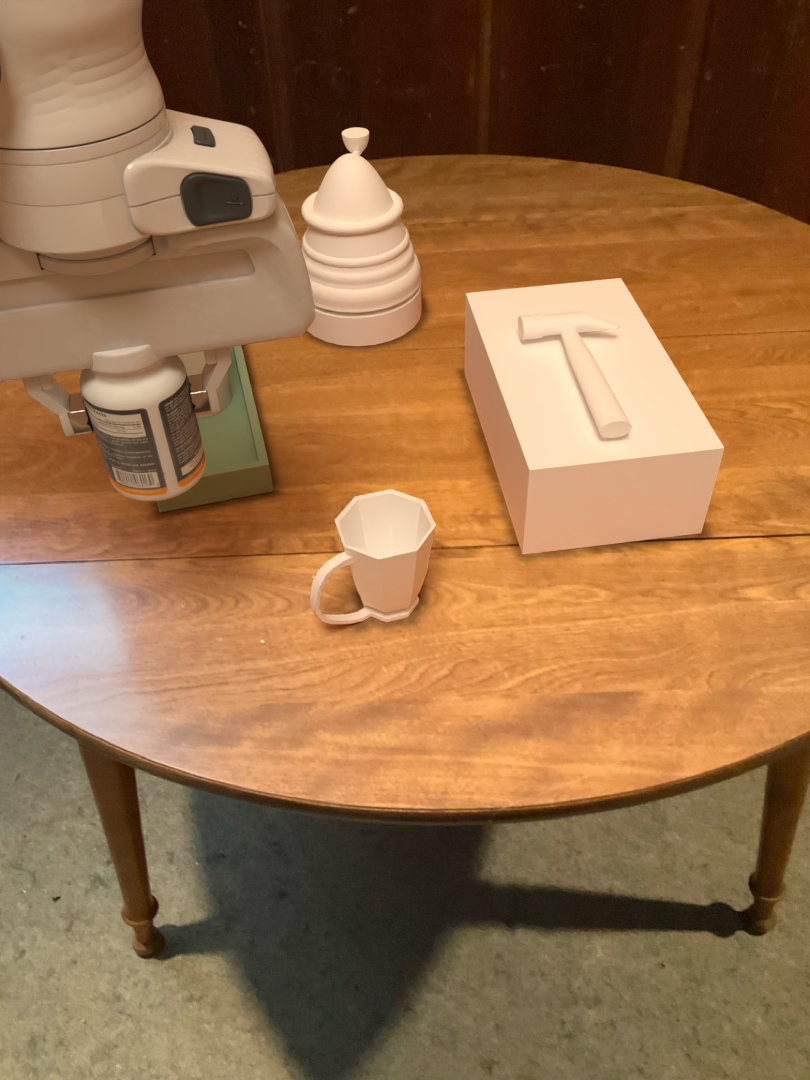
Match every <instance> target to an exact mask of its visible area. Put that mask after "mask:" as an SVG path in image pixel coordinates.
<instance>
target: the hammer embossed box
mask: <svg viewBox="0 0 810 1080" xmlns="http://www.w3.org/2000/svg"><path fill="white" fill-rule="evenodd" d="M464 309H465V312H464V313H465V314H464V318H465V319H464V359H463V361H464V363H463V364H464V365H463V366H464V367H463V373H464V377H465V380H466V383H467V386H468V389H469V393H470V396H471V399H472V401H473V404H474V408H475V410H476V411H475V412H476V414H477V417H478V420H479V424H480V427H481V429H482V430H481V431H482V433H483V437H484V439H485V442H486V446H487V449H488V452H489V454H490V459H491V462H492V464H493V468H494V471H495V474H496V478H497V479H498V483H499V486H500V489H501V493H502V496H503V498H504V502H505V505H506V508H507V511H508V514H509V518H510V521H511V524H512V527H513V530H514V533H515V536H516V540H517V543H518V546H519V550H520V553H521V555H532V554H539V553H541V554H542V553H547V552H555V551H565V550H573V549H583V548H589V547H599V546H606V545H614V544H615V545H616V544H622V543H623V544H624V543H631V542H640V541H648V540H649V541H650V540H657V539H665V538H673V537H681V536H688V535H690V536H691V535H699V534H702V533H703V528H704V526H705V525H704V524H705V522H706V517H707V514H708V510H709V506H710V503H711V499H712V495H713V492H714V489H715V485H716V481H717V478H718V474H719V471H720V466H721V463H722V459H723V456H724V452H725V447H724V445H723V443H722V441H721V440H720V438H719V436H718V435H717V433H716V432H715V429H713V427H712V425H711V424H710V422H709V420H708V418H707V417H706V415H705V413H704V412H703V410H702V408H701V407H700V405H699V403H698V402H697V400H696V399H695V397H694V396H693V394H692V392H691V390H690V389H689V387H688V386H687V384H686V382H685V380H684V379H683V378H682V376H681V374H680V372H679V371H678V369H677V367H676V366H675V364H674V363H673V361H672V359H671V358H670V355H668V353H667V351H666V349H665V348H664V346H663V344H662V343H661V341H660V340H659V338H658V336H657V334H656V333H655V332H654V330H653V328H652V326H651V325H650V323H649V322H648V320H647V318H646V317H645V315H644V314H643V311H642V310H641V309H640V307H639V305H638V304H637V301H635V298H634V297H633V295H632V293H631V292H630V291H629V289H628V287H627V285H626V284H625V282H624V281H623V278H622V277H616V278H607V279H606V278H605V279H595V280H587V281H575V282H565V283H555V284H545V285H535V286H524V287H514V288H503V289H493V290H483V291H474V292H473V291H472V292H465V307H464Z"/></svg>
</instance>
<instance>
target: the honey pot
mask: <svg viewBox="0 0 810 1080" xmlns="http://www.w3.org/2000/svg"><path fill="white" fill-rule="evenodd" d="M341 139H342V141H343V144H344V146H345V148H346V150H347V151H348V152H349V153H345V154H343V155H341V156H339V157H338V158H336V159H335V161H333V163H332V164H331V165H330V167H329V168H328V169H327V172H326V173H325V175H324V177H323V179H322V181H321V182H320V185H319V187H318V190H316V191H315V192H313V193H311V194H310V195H308V197H307V198H305V199H304V201H303V203H302V205H301V209H300V210H301V217H302V219H303V221H305V223H306V224H307V226H306V230H305V232H304V234H303V236H302V238H301V250H302V253H303V256H304V259H305V263H306V266H307V270H308V274H309V278H310V282H311V287H312V292H313V298H314V304H315V319H314V321H313V322H312V324H311V325H310V327H309V328H308V330H307V331H306V332H308V333H309V334H310V335H312V336H313V337H314V338H316V339H318V340H321V341H323V342H325V343H328V344H333V345H337V346H347V347H367V346H376V345H379V344H383V343H389V342H391V341H393V340H396V339H399V338H401V337H403V336H405V335H406V334H407V333H409V332H411V331H412V330H413V329H414V328H415V327H416V325H417V324H418V323H419V322H420V320H421V316H422V313H423V312H422V311H423V307H422V282H421V281H422V277H421V272H422V269H421V265H420V260H419V257H418V255H417V254H416V252H415V249H414V246H413V242H412V241H411V237H410V233H409V229H408V228H407V227H406V225H405V224H404V222H403V220H402V217H401V216H402V214H403V211H404V208H405V207H404V203H403V199H402V197H401V196H400V195H399V194H398V193H397V192H396V191H394V190H392V189H390V188H389V187H387V185H386V183H385V182H384V180H383V178H382V177H381V175H380V174H379V173H378V171H377V170H376V169H375V168H374V166H373V165H372V164H371V163H370V162H369V161H368V160H367V159H365V158H364V157H363V156H361V155H362V154H363V152H364V151H365V150H366V148H367V147H368V143H369V141H370V140H369V139H370V131H369V130H368V129H367V128H365V127H358V126H357V127H356V126H355V127H349V128H346V129H344V130H342V131H341Z"/></svg>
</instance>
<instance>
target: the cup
mask: <svg viewBox="0 0 810 1080" xmlns="http://www.w3.org/2000/svg"><path fill="white" fill-rule="evenodd" d="M334 523H335V526H336V527H335V528H336V529H337V534H338V536H339V539H340V543H341V546H342V548H343V552H340V553H338V554H336V555H334V556H333V557H332V558H330V559H328V560H327V561H326V562H324V564H323V565H322V566H321V567H319V569H318V571H317V572H316V575H315V577H314V578H313V580H312V582H311V587H310V593H309V607H310V610H311V611H312V613H314V616H316V617H317V618H318V620H320V622H323V623H326V624H329V625H350V624H351V625H352V624H357V623H360V622H364V621H366V620H367V619H369V618H374V619H376V620H379V621H381V622H384V623H389V622H394V621H398V620H399V621H400V620H402V619H407V618H409V617H410V615H411V614H412V613H413V612H414V610H415V608H416V607H417V606H418V604H419V603H420V598H419V596H418V595H419V594H420V592H421V589H422V587H423V585H424V581H425V578H426V576H427V573H428V568H429V563H430V558H431V553H432V548H433V543H434V537H435V533H436V527H437V524H436V522H435V520H434V518H433V515H432V514H431V511H430V508H429V507H428V505H427V503H426V500H425V499H422V498H419V497H416V496H413V495H411V494H407V493H405V492H402V491H399V490H396V489H393V488H388V489H382V490H379V491H374V492H371V493H365V494H361V495H360V494H359V495H355V496H353V498H352V499H350V501H349V502H348V503H347V504H346V506H345V507H344V508H343V509H342V510H341V512H340V513H339V514H338V515H337V517H336V518H335V519H334ZM347 566H348V568H349V571H350V574H351V577H352V579H353V582H354V585H355V588H356V591H357V593H358V595H359V597H360V601H361V603H362V607H363V608H361V609H359V610H358V611H354V612H350V613H345V614H330V613H329V614H328V613H323V612H321V597H322V590H323V588H324V586H325V584H326V583H327V581H328V579H329V578H330V576H331V575H332V574H333V573H334V572H335V571H337V570H340V569H342V568H344V567H347Z"/></svg>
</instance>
